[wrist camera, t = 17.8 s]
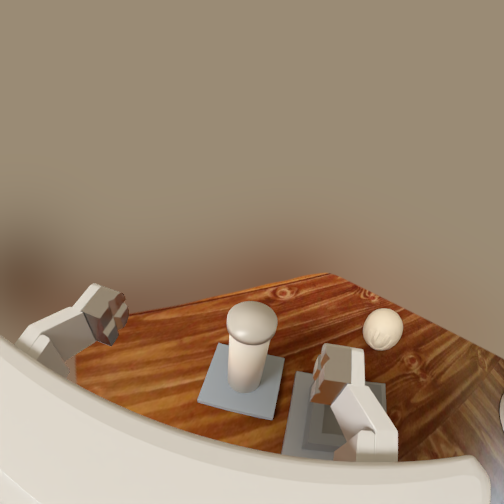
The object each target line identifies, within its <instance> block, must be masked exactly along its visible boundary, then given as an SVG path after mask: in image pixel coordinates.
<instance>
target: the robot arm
mask: <svg viewBox="0 0 504 504" xmlns="http://www.w3.org/2000/svg"><path fill="white" fill-rule="evenodd" d="M124 301H125V296H124V294H123V293H120V292H117V291H115V290H112V289H109V288H106V287H104V286H101V285H98V284H95V283H94V284H92V285H90V287H89V288H88V289H87V290H86V291H85V292H84V294H83V295H82V296H81V297H80V299H79V300H78V301H77V302H76V303H75V304H74V306H73V307H68V308H66V309H63V310H61V311H59V312H57V313H55V314H52V315H50V316H48V317H46V318H44V319H42V320H39V321H37V322H35V323H33V324H31V325H29V326H28V327H27V329H26V330H25V331H24V332H23V334H22V335H21V336H20V338H19V339H18V340H17V342H16V343H15V344H14V345H13V344H12V343H10V342H9V341H8V340H6V339H5V338H4V337H2V336H1V335H0V504H490V499H491V484H490V478H489V476H488V474H487V473H486V471H485V470H484V468H483V467H482V466H481V464H480V463H479V462H478V460H477V459H476V458H475V457H474V456H472V455H464V456H457V457H450V458H442V459H433V460H422V461H408V462H398V431H397V429H396V428H395V426H394V424H393V423H392V421H391V420H390V418H389V417H388V415H387V414H386V412H385V411H384V409H383V408H382V406H381V404H380V403H379V401H378V400H377V398H376V397H375V395H374V394H373V392H372V391H371V389H370V388H369V386H365V363H364V351H363V349H358V348H352V347H347V346H341V345H334V344H328V343H325V344H324V345H323V347H322V352H321V354H320V355H318V358H317V360H316V363H315V366H314V372H313V379H314V380H315V382H314V384H313V386H312V389H311V398H310V402H314V403H319V404H325V405H331V409H332V411H333V413H334V415H335V417H336V419H337V422H338V424H339V426H340V428H341V430H342V432H343V434H344V437H345V439H346V441H347V442H346V443H345V444H344V445H342V446H341V447H340V448H338V449H337V450H336V451H334V458H333V460H321V459H312V458H303V457H296V456H289V455H282V454H276V453H271V452H265V451H260V450H255V449H250V448H246V447H241V446H237V445H233V444H229V443H225V442H221V441H217V440H213V439H210V438H206V437H203V436H200V435H196V434H193V433H190V432H187V431H184V430H181V429H178V428H175V427H172V426H169V425H166V424H163V423H161V422H158V421H155V420H153V419H150V418H147V417H145V416H142V415H140V414H138V413H135V412H133V411H130V410H128V409H126V408H124V407H121V406H119V405H117V404H115V403H112V402H110V401H108V400H106V399H104V398H102V397H100V396H98V395H96V394H94V393H92V392H90V391H88V390H86V389H84V388H82V387H80V386H79V385H77V384H75V383H73V382H71V381H69V380H68V379H66V378H67V376H68V374H69V373H70V369H69V368H68V366H67V365H66V363H65V361H66V360H68V359H69V358H71V357H72V356H74V355H76V354H77V353H79V352H80V351H82V350H83V349H85V348H86V347H88V346H90V345H91V344H93V343H94V342H96V341H99V342H102V343H104V344H107V345H109V346H112V345H113V343H114V342H115V340H116V339H117V337H118V336H119V333H118V330H120V329H122V328H124V326H125V324H126V323H127V320H128V317H129V310H128V307H127V306H126V304H125V303H124ZM500 419H501V424H502V427H503V430H504V394H503V396H502V399H501V403H500Z"/></svg>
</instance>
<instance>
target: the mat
mask: <svg viewBox="0 0 504 504" xmlns="http://www.w3.org/2000/svg"><path fill="white" fill-rule="evenodd" d="M228 356H229V345H225V344H221V343H218V346H217V349H216V351H215V354H214V357H213V359H212V362H211V365H210V367H209V370H208V373H207V375H206V378H205V381H204V383H203V386H202V389H201V391H200V394H199V397H198V399H197V401H198V402H199V403H202V404H206V405H209V406H213V407H217V408H220V409H224V410H228V411H232V412H236V413H240V414H244V415H249V416H253V417H258V418H263V419H268V420H272V419H273V416H274V411H275V406H276V401H277V396H278V391H279V386H280V381H281V376H282V371H283V365H284V360H285V358H282V357H277V356H272V355H267V356H266V360H265V364H264V369H263V373H262V377H261V381H260V384H259V386H258V388H257V389H256V390H254V391H253V392H250V393H239V392H236V391H234V390H233V389H232V388H231V387H230V386H229V384H228V380H227V377H228Z"/></svg>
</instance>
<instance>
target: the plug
mask: <svg viewBox="0 0 504 504" xmlns="http://www.w3.org/2000/svg"><path fill="white" fill-rule="evenodd" d="M276 328H277V316H276V314H275V313H274V311H273V310H272V309H271V308H270V307H268V306H267V305H265V304H262V303H259V302H254V301H247V302H242V303H239V304H237V305H235V306H234V307H232V308H231V309H230V311H229V313H228V315H227V330H228V332H229V334H230V336H229V356H228V377H227V380H228V384H229V386H230V387H231V388H232V389H233V390H234V391H236V392H239V393H250V392H253V391H254V390H256V389H257V388H258V386H259V384H260V381H261V377H262V373H263V369H264V364H265V360H266V356H267V352H268V348H269V343H270V339H271V338H272V337H273V336H274V334H275V332H276Z"/></svg>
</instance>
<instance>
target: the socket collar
mask: <svg viewBox="0 0 504 504" xmlns="http://www.w3.org/2000/svg"><path fill="white" fill-rule="evenodd" d="M314 382H315V380H314V379H313V374H310V373H304V372H299V371H297V372H296V374H295V379H294V385H293V391H292V397H291V403H290V409H289V415H288V420H287V426H286V431H285V436H284V441H283V446H282V451H281V454H282V455H289V456H296V457H303V458H312V459H321V460H333V458H334V451H336V450H337V449H338V448H340V447H341V446H342V445H344V444H345V443H346V442H347V441H346V439H345V437H344V434H343V432H342V430H341V428H340V426H339V424H338V422H337V419H336V417H335V415H334V413H333V411H332V409H331V405H325V404H319V403H314V402H310V398H311V389H312V386H313V384H314ZM365 386H369V388H370V389H371V391H372V392H373V394H374V395H375V397H376V398H377V400H378V401H379V403H380V404H381V406H382V408H383V409H384V411H385V412H386V388H385V384H384V383H375V382H366V381H365Z"/></svg>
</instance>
